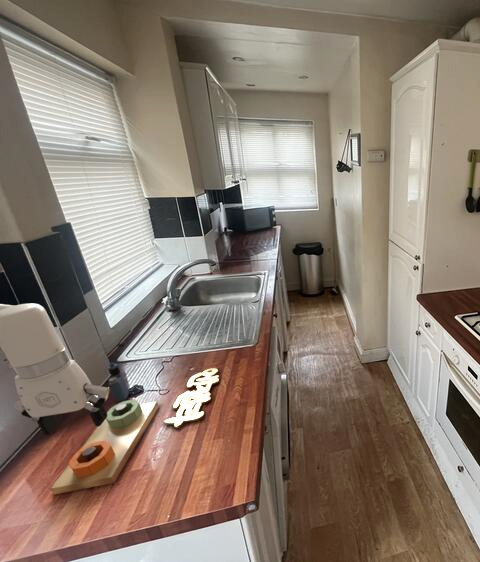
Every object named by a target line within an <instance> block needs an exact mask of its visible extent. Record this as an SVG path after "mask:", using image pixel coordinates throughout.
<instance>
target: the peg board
mask: <svg viewBox="0 0 480 562" xmlns="http://www.w3.org/2000/svg"><path fill="white" fill-rule="evenodd" d="M139 404H140V407H141V409H142V413H141V415H140V416H139V418H138V419H137V420H136V421H134V422H132V423H131V424H129V425H127V426H126V427H121V428H115V429H112V428H111V427H110V426H109V424H108V422H107V420H106V419H105V420H104V422H103V423H102V424H101V425H100V426H96V428H95V430H94V431H93V433H92V434H91V435H90V437H89V438H88V439H87V440H86V442H85V443H84V444H83V446H81V448H80V450H81V449H82V448H84V447H86V446H87V445H89V444H91V443H93V442H98V441H104V440H107V441H108V443H109V444H110V445H111V447H112V449H113V451H114V453H115V455H114V457H113V459H112V460H111V462H110V463H109V465H108V466H106V467H105V468H103V469H102V470H100V471H99V472H97V473H95V474H94V475H92V476H87V477H81V478H77V476H76V475H75V473H74V472H73V470H72V469H71V467H70V465H69V464H68V465H67V466H66V467H65V469H64V470H63V471H62V473H61V474H60V475H59V477H58V478H57V480H56V481H55V482H54V484H53V485H52V486H51V487H50V491H51V492H52V494H53V495H54V496H55V495H59V494H65V493H69V492H74V491H80V490H84V489H89V488H94V487H99V486H100V487H101V486H104V485H105V486H106V485H111V484H114V483H115V482H116V481H117V480H118V478H119V476H120V474H121V472H122V471H123V469H124V467H125V465H126V463H127V462H128V460H129V459H130V457H131V455H132V453H133V452H134V451H135V448H136V447H137V445H138V444H139V442H140V440H141V438H142V436H143V435H144V433H145V431H146V430H147V428H148V426H149V425H150V422H151V421H152V420H153V417H154V416H155V414H156V413H157V411H158V409H159V407H160V405H159V402H158V401H150V402H145V403H144V402H143V403H139ZM116 411H117V413H118V416H121V415H123V414H125V413H127V412H129V409H128V407H127V405H126V404H121V405H119V406H117V407H116ZM99 455H100V454H98V452H97V450H96V448H95V447H89V448H87V449H86V450H84V451H83V453H82V456H83V457H84V459H85V461H86V462H89V461H91V460H93V459H94V458H96V457H97V456H99ZM86 462H85V463H86Z"/></svg>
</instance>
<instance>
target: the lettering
mask: <svg viewBox="0 0 480 562" xmlns="http://www.w3.org/2000/svg"><path fill="white" fill-rule="evenodd" d="M218 374H219V370H218V368H216V367H209V368H206V369H205V370H203V372H198V373H196V374H194V375H192V376H191V377H190V378H189V380H188V382H187V384H186V387H187V389H188V390H187V391H186V392H184V393H182V394H180V395H179V396H178V397H177V399H176V400H175V402H174V404H173V408H174V410H175V411H176V410H177V412H176V417H171V418H168V419H165V420H164V423H165V425H168V426H174V428H175V429H179V428H180V427H182V426H183V425H184V424H186V423H192V422H196V421H200V420H202V419H203V418H204V417H205V416H204V415H205V413H204V411H201V408H202V407H203V405H205V404H208V403H210V402H211V401H212V399H211V397H212V395H211V393H210V392H211V390H212V387H213V386H215V385H217V384H218V383H220V377H219V375H218ZM194 387H195V388H196V390H192V391H190V390H189V389H193V388H194Z"/></svg>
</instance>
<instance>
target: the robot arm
mask: <svg viewBox="0 0 480 562" xmlns="http://www.w3.org/2000/svg"><path fill="white" fill-rule="evenodd" d="M0 348H1V350H2V352H3V353H4V355H5V357H6V359H7V360H8V362H9V363H8V369H13V370H14V372H15V374H16V375H15V376H14V384H15V388H16V391H17V395H18V398H19V400H18V401H16V402H15V403H14V404H12V405H11V408H12V409H13V410H15V411H17V412H18V413H20V414H21V416H22V417H23V416H24V417H26V418H30V421H31V422H33V423H37V425H38V426H39V428H40V430H41V431H42V433H43V434H44V436H49V435H51V434H52V433H53V432H54V431H55V429H56V428H57V427H58V426H59V425H60V422H59V420H58V419H57V417H56V416H55V415H61V414H67V413H72V412H78V411H80V410H82V409H86V410H87V411H90V413H89V416H90V418H91V420H92V422H93V423H94V426H95V427H98V426H100V425H101V424H102V423H103V422H104V420H105V419H106V418H107V412H108V411H107V410H106V408H105V406H104V404H105V402H106V401H107V400H108V399H109V394H110V391H111V389H110V387H106V386H99V385H95V384H92V383H91V381H90V379H89V377H88V376H87V374H86V372H85V371H84V370H83V369H82V367H81V366H80V365H79V364H78V363H77V362H76V361H75V359H72V358H71V357H70V356H69V354H68V352H67V350H66V347H65V346H64V344H63V342H62V340H61V338H60V336H59V334H58V332H57V330H56V329H55V326H54V323H53V322H52V320H51V318H50V316H49V315H48V313H47V310H46V309H45V307H44V306H42V305H40V304H39V303H34V302H33V303H21V304H17V305H13V304H12V305H11V304H4V303H0ZM89 401H90V402H92V403H90V402H89ZM93 403H94V404H93Z"/></svg>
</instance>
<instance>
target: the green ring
mask: <svg viewBox="0 0 480 562" xmlns="http://www.w3.org/2000/svg"><path fill="white" fill-rule="evenodd" d="M121 404H126V405H127V407H128V409H129V412H127V413H125V414H123V415H121V416H118V413H117V411H116V407H117V406H119V405H121ZM140 404H141V403H139V402H138V401H137V399H130V400H125V401H123V402H120V403H117V404H115V405H114V406H112V407H111V408H109V409H108V411H106V412H107V418H106V420H107V422H108V424H109V426H110V427H111V428H112V429H115V428H121V427H126V426H127V425H129V424H131V423H132V422H134V421H136V420H137V419H138V418H139V416H140V415H141V413H142V409H141V407H140Z"/></svg>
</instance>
